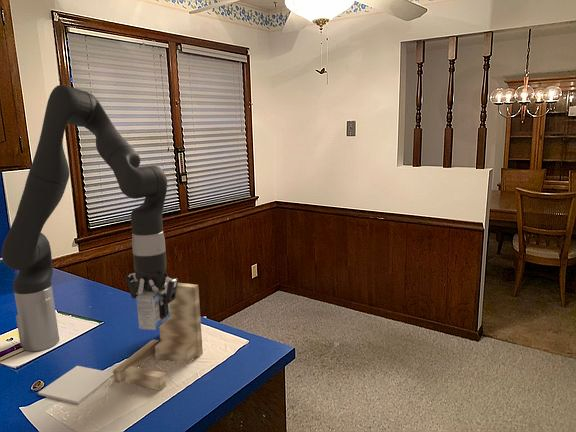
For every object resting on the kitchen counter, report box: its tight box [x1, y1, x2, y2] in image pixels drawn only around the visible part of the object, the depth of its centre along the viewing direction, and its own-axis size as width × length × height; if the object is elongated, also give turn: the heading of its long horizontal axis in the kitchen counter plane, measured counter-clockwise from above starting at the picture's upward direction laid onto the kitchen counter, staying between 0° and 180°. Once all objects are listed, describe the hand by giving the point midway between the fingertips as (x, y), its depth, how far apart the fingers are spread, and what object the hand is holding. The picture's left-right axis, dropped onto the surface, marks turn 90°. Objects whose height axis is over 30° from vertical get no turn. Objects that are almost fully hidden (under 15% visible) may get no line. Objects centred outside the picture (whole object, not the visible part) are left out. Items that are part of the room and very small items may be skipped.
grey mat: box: [37, 365, 114, 405], centre depth 106 cm, size 12×12×1 cm
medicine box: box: [135, 287, 170, 331], centre depth 107 cm, size 8×4×9 cm, turn 168°
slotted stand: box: [112, 282, 204, 392], centre depth 111 cm, size 14×18×20 cm
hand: (154, 315), depth 108 cm, fingers closed on medicine box, 4 cm apart
